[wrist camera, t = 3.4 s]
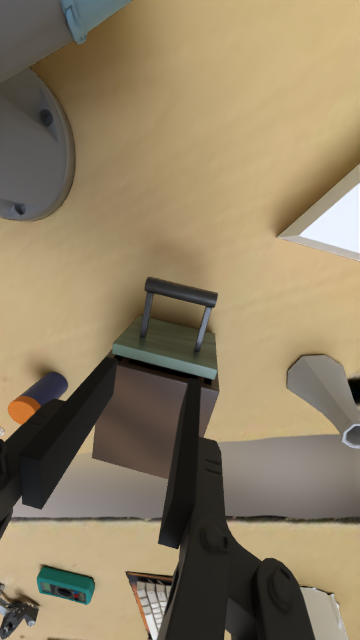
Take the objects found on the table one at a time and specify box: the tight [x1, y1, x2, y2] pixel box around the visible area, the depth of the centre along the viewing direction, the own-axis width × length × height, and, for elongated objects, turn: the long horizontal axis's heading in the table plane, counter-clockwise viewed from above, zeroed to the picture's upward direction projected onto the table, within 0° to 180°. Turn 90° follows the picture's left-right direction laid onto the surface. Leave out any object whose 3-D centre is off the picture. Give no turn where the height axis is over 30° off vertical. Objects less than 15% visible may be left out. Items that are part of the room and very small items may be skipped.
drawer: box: [112, 277, 218, 383], centre depth 26 cm, size 19×10×9 cm, turn 168°
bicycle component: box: [0, 585, 39, 640], centre depth 64 cm, size 12×7×15 cm
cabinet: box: [92, 350, 219, 479], centre depth 28 cm, size 14×12×11 cm
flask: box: [287, 355, 360, 448], centre depth 25 cm, size 7×7×10 cm
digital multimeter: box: [37, 567, 95, 605], centre depth 57 cm, size 7×15×3 cm, turn 83°
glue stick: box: [8, 372, 68, 425], centre depth 33 cm, size 4×4×7 cm
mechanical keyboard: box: [126, 572, 173, 640], centre depth 57 cm, size 38×19×3 cm, turn 8°
